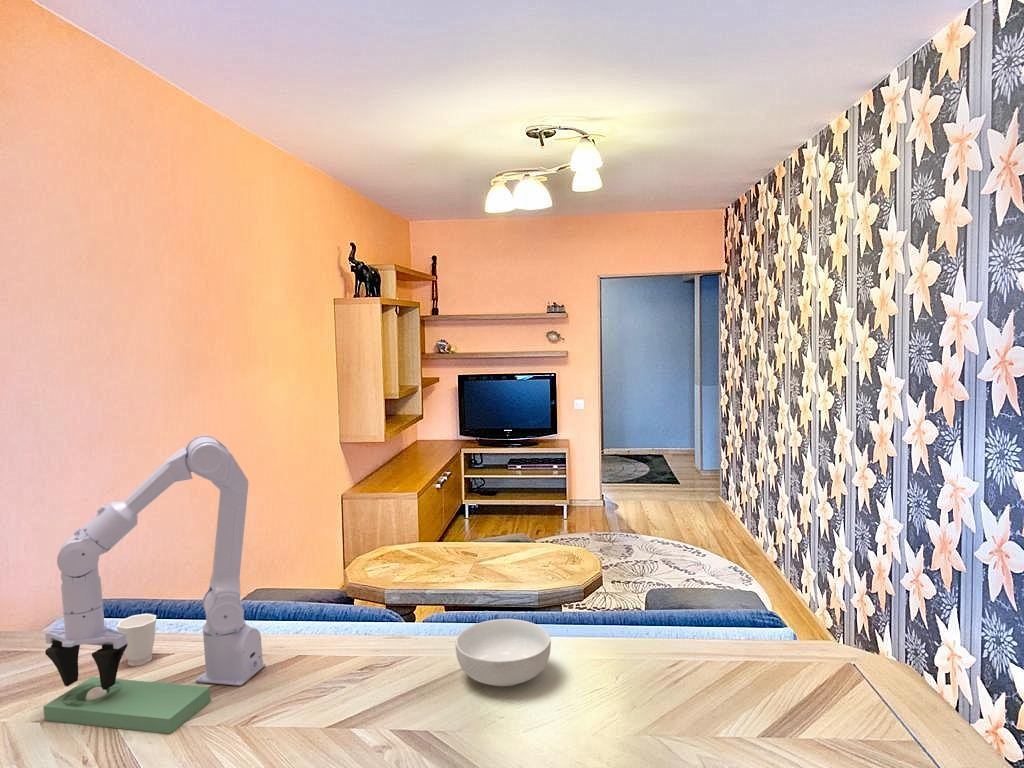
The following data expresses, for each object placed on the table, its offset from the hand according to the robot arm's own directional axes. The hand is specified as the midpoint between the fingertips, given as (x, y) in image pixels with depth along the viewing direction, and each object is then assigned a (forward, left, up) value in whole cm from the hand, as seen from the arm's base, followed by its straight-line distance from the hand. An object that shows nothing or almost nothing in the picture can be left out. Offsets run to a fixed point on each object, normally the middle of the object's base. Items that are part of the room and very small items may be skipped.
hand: (89, 685), depth 119 cm
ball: (-1, 0, -2) cm, 2 cm away
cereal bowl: (-68, -21, -4) cm, 71 cm away
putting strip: (-8, 0, -4) cm, 8 cm away
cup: (+6, -17, -4) cm, 18 cm away
